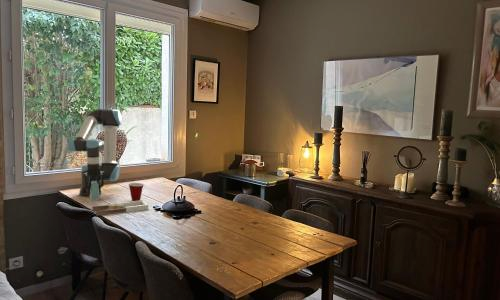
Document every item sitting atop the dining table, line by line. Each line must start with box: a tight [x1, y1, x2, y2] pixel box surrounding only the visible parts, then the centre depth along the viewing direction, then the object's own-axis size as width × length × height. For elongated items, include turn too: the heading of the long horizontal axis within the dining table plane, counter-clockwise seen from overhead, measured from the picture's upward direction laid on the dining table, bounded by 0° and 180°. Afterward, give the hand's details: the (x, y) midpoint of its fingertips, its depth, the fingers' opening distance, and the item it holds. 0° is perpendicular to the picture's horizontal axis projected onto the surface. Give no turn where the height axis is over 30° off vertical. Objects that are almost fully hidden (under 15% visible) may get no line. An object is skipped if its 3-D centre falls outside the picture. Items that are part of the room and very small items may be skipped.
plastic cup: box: [128, 182, 145, 202], centre depth 275 cm, size 11×11×12 cm
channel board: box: [92, 202, 127, 217], centre depth 247 cm, size 13×18×2 cm
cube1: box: [107, 203, 117, 210], centre depth 248 cm, size 4×4×4 cm
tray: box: [121, 199, 149, 213], centre depth 255 cm, size 13×14×3 cm
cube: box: [115, 203, 125, 209], centre depth 249 cm, size 4×4×4 cm
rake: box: [90, 181, 100, 202], centre depth 252 cm, size 8×4×11 cm, turn 32°
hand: (94, 197), depth 253 cm, fingers closed on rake, 4 cm apart
